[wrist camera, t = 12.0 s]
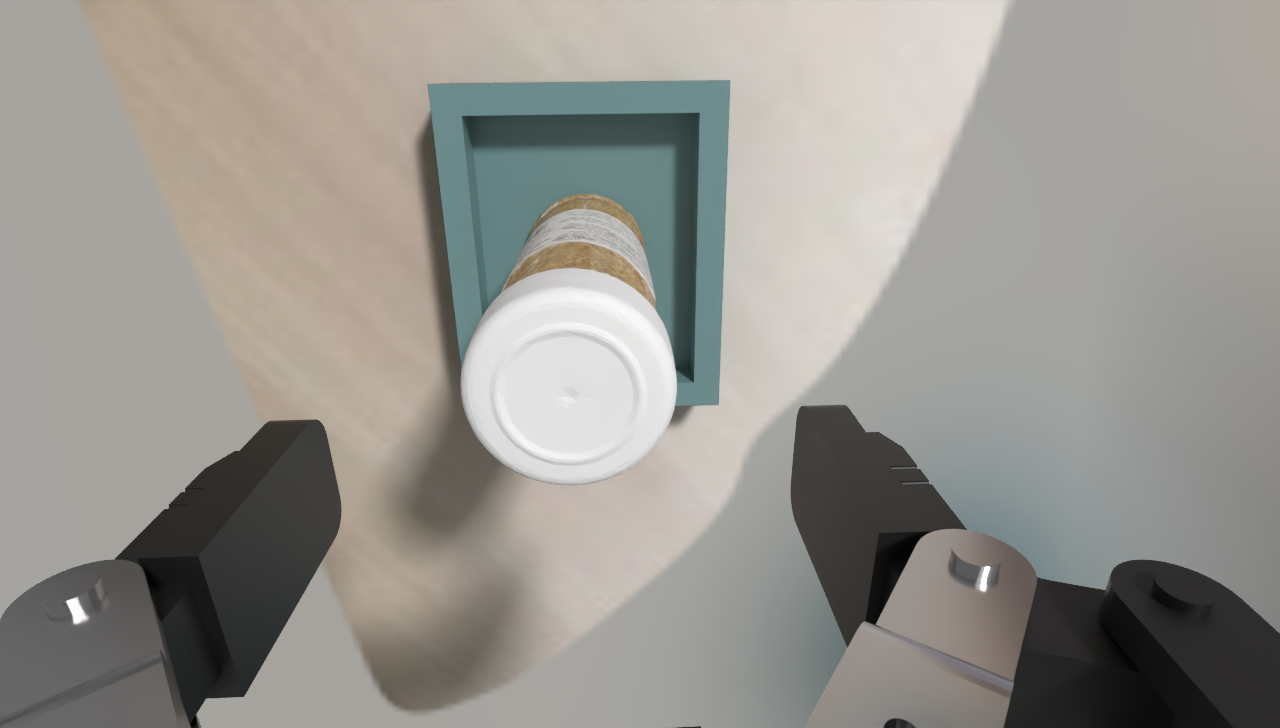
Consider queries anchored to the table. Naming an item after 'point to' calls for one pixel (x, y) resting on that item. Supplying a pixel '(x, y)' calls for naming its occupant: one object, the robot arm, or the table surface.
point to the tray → (591, 192)
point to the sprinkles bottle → (572, 351)
